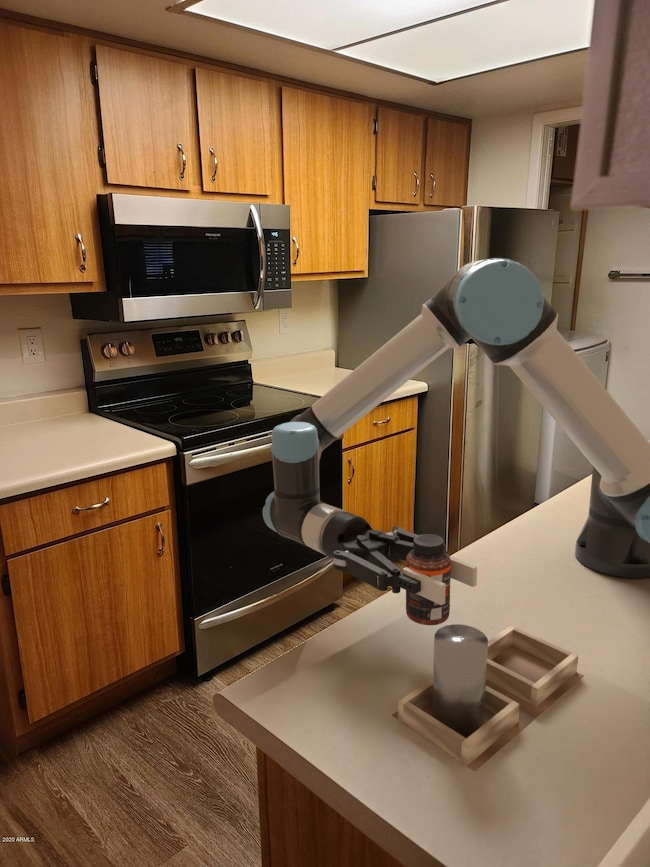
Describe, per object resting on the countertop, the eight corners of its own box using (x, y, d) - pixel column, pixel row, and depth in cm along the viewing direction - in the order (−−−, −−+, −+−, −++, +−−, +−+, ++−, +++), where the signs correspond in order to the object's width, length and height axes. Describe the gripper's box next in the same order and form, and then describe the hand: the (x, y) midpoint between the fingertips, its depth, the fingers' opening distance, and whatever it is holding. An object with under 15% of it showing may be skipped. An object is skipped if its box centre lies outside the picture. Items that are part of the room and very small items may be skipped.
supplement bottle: (449, 629, 84) (451, 550, 81) (404, 625, 85) (404, 548, 82) (450, 606, 89) (451, 531, 87) (407, 603, 91) (407, 529, 88)
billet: (452, 697, 80) (455, 618, 77) (494, 721, 75) (498, 639, 73) (421, 719, 76) (423, 638, 73) (463, 746, 72) (467, 660, 69)
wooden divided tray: (504, 645, 92) (505, 622, 91) (583, 683, 84) (585, 658, 83) (391, 723, 77) (392, 697, 76) (474, 780, 68) (475, 751, 67)
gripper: (380, 538, 106) (500, 586, 89) (291, 576, 94) (411, 640, 77) (379, 495, 104) (502, 536, 87) (288, 529, 92) (411, 584, 75)
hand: (459, 585), depth 82 cm, fingers closed on supplement bottle, 6 cm apart
